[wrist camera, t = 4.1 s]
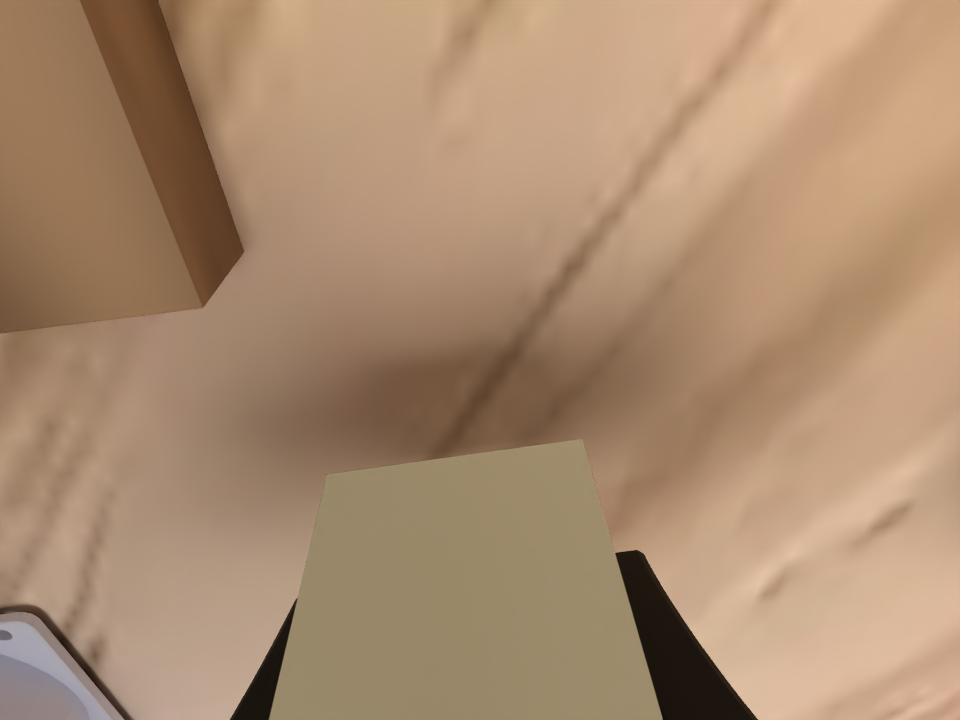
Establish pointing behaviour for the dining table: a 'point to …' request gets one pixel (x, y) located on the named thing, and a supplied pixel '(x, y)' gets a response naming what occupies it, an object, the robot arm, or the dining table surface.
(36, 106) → the walnut block
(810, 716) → the dining table surface
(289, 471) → the dining table surface
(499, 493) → the sage cube
